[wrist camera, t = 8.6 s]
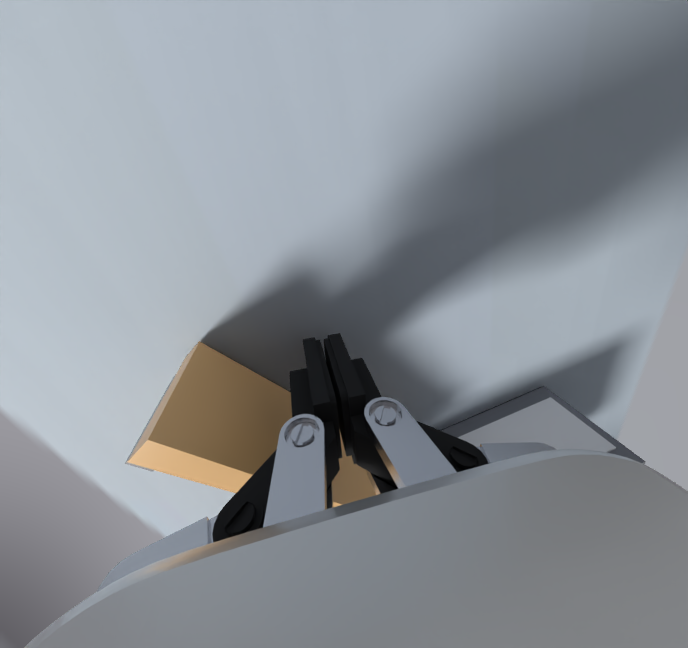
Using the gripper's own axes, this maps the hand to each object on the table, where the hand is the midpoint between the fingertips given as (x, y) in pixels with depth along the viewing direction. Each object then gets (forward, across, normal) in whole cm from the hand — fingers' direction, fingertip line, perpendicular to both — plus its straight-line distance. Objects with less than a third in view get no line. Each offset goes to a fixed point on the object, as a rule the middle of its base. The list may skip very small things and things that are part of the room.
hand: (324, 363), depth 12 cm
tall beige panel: (+1, +1, +4) cm, 5 cm away
